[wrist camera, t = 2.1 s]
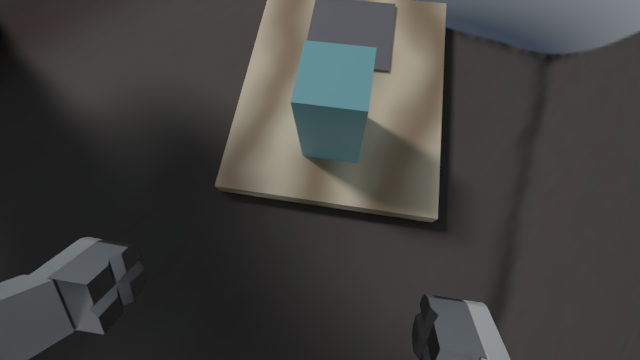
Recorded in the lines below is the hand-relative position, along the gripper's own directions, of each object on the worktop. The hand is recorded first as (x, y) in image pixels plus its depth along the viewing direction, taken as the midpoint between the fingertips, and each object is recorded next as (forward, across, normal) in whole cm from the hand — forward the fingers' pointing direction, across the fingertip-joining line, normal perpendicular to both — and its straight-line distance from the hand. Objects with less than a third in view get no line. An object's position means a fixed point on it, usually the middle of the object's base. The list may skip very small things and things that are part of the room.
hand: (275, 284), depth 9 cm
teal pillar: (+19, 0, +2) cm, 19 cm away
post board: (+23, 0, -1) cm, 23 cm away
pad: (+26, 0, -6) cm, 27 cm away
